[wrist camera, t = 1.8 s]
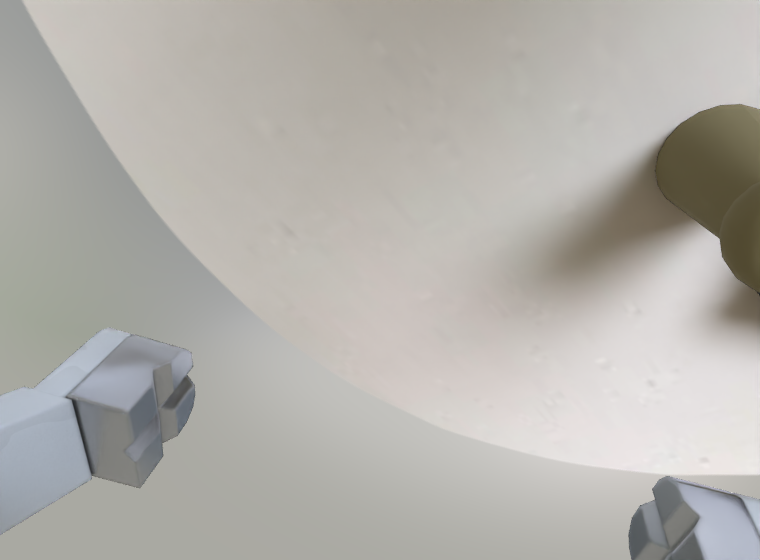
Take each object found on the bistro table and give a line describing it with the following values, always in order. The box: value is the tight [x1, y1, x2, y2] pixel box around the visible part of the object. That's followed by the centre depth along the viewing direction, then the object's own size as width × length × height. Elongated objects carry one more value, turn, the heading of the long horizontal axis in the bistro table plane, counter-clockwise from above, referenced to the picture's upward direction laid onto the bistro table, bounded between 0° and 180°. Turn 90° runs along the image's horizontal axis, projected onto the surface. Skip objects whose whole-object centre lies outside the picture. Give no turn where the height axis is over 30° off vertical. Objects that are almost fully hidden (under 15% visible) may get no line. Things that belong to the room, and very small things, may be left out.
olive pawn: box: [655, 104, 760, 293], centre depth 23 cm, size 6×6×11 cm
